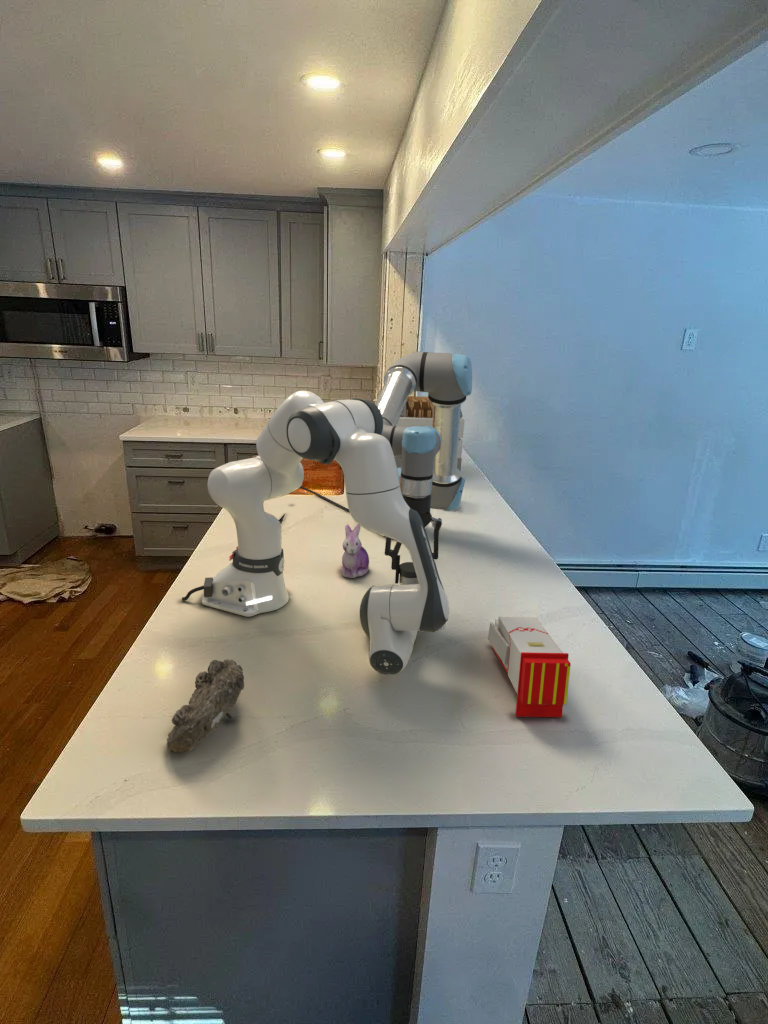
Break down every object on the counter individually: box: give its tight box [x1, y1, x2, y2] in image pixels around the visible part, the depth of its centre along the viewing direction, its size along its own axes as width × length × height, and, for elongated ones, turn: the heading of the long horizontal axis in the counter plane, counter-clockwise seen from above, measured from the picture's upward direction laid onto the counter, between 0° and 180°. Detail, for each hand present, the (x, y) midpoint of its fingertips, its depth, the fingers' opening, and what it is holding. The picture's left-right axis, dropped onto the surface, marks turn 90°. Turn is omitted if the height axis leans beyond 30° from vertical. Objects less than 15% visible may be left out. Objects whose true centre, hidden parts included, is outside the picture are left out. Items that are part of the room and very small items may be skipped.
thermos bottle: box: [398, 574, 419, 585], centre depth 142 cm, size 5×5×15 cm
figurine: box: [341, 523, 370, 579], centre depth 167 cm, size 9×10×15 cm
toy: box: [487, 616, 572, 718], centre depth 123 cm, size 12×13×30 cm
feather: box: [278, 513, 286, 523], centre depth 210 cm, size 2×28×2 cm
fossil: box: [166, 658, 245, 754], centre depth 106 cm, size 22×10×15 cm
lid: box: [399, 561, 417, 578], centre depth 140 cm, size 6×6×2 cm
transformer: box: [394, 395, 465, 472], centre depth 268 cm, size 34×33×41 cm
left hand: (409, 596), depth 143 cm, fingers closed on thermos bottle, 5 cm apart
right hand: (409, 582), depth 141 cm, fingers closed on lid, 6 cm apart
